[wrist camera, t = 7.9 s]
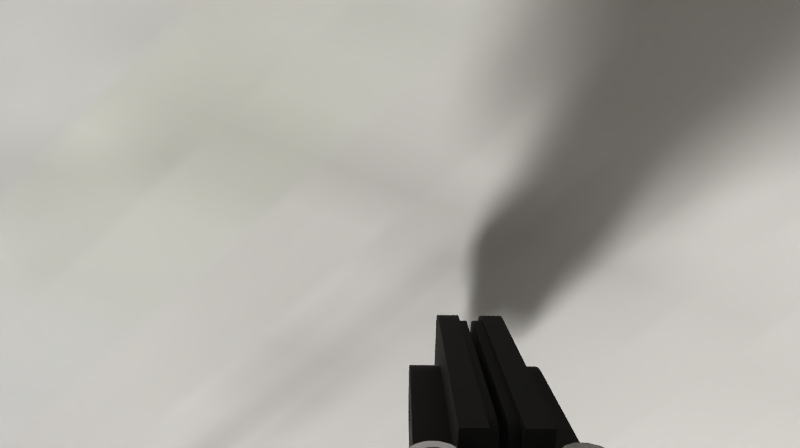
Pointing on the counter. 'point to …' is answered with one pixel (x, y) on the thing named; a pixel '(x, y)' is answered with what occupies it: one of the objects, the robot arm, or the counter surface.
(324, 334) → the counter surface
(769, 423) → the counter surface
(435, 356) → the robot arm
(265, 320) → the counter surface
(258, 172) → the counter surface
